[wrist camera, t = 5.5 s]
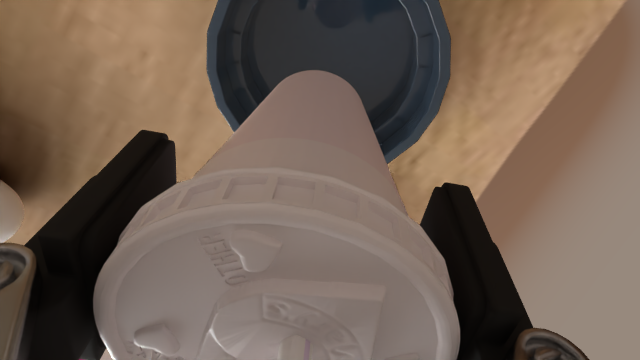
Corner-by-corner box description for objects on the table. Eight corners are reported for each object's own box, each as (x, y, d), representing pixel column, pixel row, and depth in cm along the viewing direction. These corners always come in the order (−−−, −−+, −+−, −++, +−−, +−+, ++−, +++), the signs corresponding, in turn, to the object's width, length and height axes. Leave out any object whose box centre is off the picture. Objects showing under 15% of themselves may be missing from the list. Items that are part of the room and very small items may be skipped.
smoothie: (437, 127, 15) (749, 880, 3) (311, 215, 18) (233, 811, 6) (319, -15, 13) (-58, 836, 1) (194, 111, 15) (-322, 756, 4)
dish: (231, -90, 23) (208, -93, 19) (468, -44, 23) (489, -39, 20) (222, 130, 30) (204, 157, 26) (403, 162, 30) (410, 193, 27)
